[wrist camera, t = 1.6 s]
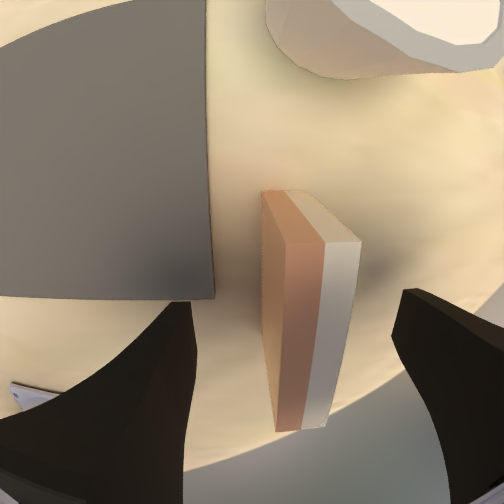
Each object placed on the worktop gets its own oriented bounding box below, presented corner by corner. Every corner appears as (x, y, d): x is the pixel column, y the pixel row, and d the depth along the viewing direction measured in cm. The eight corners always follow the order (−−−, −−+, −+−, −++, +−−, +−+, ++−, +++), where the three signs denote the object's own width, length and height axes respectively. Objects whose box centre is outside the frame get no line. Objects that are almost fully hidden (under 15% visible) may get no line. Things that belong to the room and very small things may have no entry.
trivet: (215, 292, 14) (214, 299, 13) (1, 290, 13) (-5, 295, 13) (206, -4, 9) (205, -10, 8) (-27, 68, 8) (-34, 67, 8)
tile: (297, 330, 15) (325, 426, 9) (261, 333, 15) (275, 432, 9) (305, 190, 12) (361, 241, 7) (261, 190, 12) (286, 243, 7)
